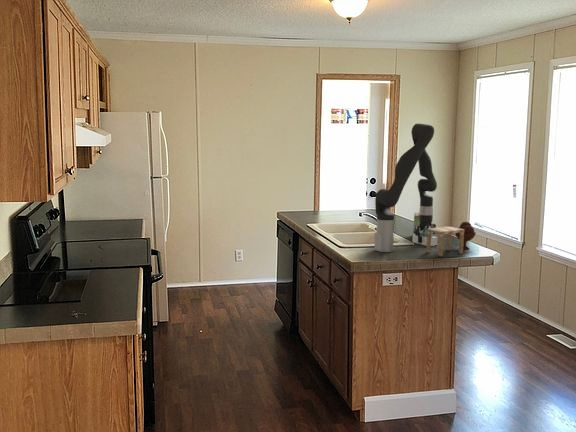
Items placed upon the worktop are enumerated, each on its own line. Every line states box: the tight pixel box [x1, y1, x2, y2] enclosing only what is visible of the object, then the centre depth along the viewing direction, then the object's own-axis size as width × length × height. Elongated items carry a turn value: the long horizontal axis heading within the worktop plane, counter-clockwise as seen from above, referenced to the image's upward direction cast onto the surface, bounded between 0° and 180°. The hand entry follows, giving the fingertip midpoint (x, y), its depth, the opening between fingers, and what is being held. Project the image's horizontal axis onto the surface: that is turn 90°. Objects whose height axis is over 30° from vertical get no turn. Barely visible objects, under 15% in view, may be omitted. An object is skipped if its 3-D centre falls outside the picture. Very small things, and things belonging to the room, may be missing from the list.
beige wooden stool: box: [425, 225, 464, 257], centre depth 324 cm, size 16×11×13 cm
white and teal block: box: [412, 229, 438, 247], centre depth 349 cm, size 6×14×9 cm, turn 29°
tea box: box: [412, 211, 420, 235], centre depth 367 cm, size 15×10×15 cm
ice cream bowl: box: [454, 221, 476, 251], centre depth 336 cm, size 11×11×15 cm
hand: (424, 242), depth 350 cm, fingers open, 6 cm apart
